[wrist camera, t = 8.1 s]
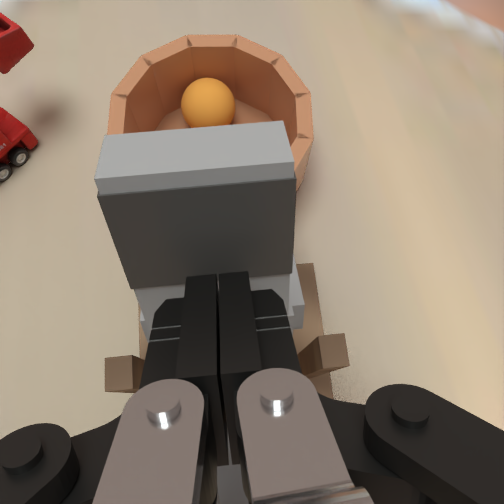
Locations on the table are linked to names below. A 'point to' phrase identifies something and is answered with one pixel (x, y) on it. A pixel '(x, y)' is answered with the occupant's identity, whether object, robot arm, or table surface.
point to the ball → (207, 103)
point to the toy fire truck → (3, 123)
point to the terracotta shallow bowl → (225, 70)
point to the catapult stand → (306, 340)
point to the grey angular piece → (203, 219)
